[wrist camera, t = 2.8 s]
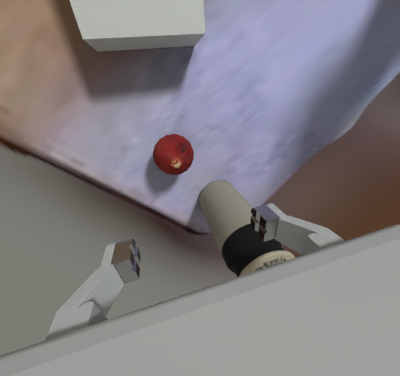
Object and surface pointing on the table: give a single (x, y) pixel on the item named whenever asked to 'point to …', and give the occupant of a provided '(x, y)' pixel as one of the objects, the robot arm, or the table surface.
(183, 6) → the grey block
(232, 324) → the robot arm
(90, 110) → the table surface
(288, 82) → the table surface
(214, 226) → the travel mug
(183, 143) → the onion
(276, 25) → the table surface
